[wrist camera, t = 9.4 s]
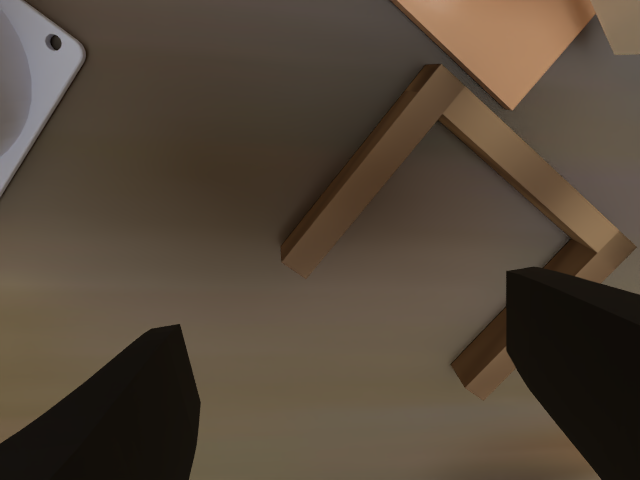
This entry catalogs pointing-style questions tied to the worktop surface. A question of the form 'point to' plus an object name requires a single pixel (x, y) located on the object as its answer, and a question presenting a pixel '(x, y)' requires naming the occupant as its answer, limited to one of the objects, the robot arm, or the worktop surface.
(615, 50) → the jug
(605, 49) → the worktop surface
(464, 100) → the holder
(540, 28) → the plate
